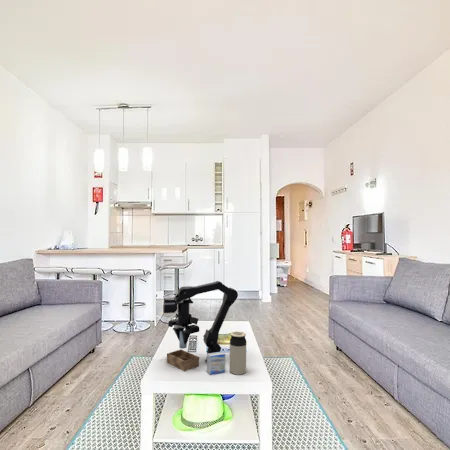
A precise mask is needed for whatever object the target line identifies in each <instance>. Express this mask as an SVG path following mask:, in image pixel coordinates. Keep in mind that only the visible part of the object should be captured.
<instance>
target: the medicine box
mask: <svg viewBox="0 0 450 450" xmlns="http://www.w3.org/2000/svg"><path fill="white" fill-rule="evenodd" d="M206 359H207V362H206V372H207V373H208V374H209V375H210V376H212V375H216V374H222V373H225V372H226V353H224V351H220V352H215V353H207V352H206Z"/></svg>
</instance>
